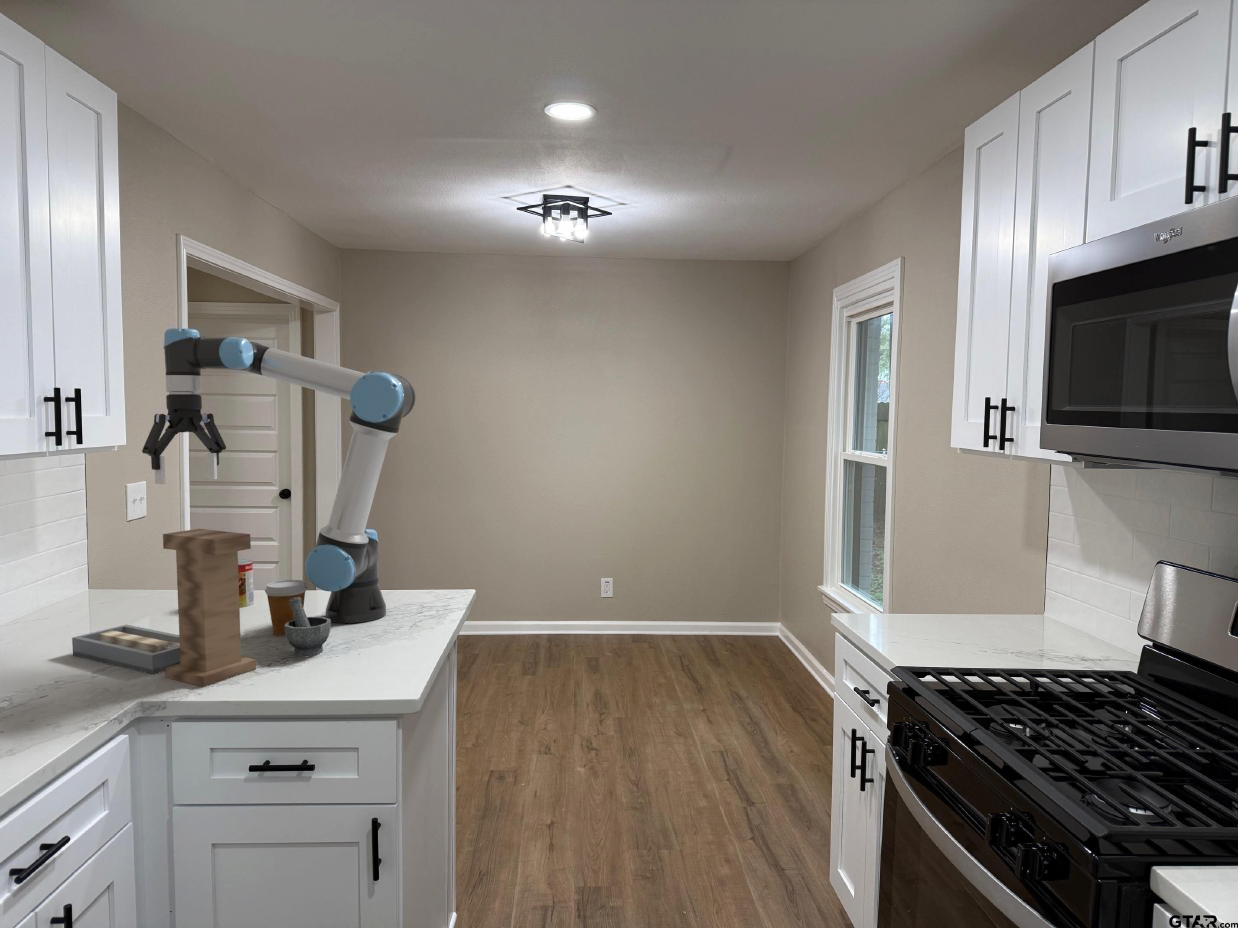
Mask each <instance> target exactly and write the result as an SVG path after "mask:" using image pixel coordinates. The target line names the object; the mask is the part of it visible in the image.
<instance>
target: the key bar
mask: <svg viewBox="0 0 1238 928" xmlns="http://www.w3.org/2000/svg"><path fill="white" fill-rule="evenodd" d="M99 641H102V642H106V643H111V644H115V645H120V646H124V647H129V648H133V649H138V650H142V651H147V652H151V653H156V652H160V651H163V650H167V649H170V648H174V647H177V646H180V644H179V643H178V642H168V641H163V640H158V639H153V638H148V637H143V636H138V635H133V634H128V633H123V632H118V631H113V630H112V631H108V632H104V633H100V634H99Z"/></svg>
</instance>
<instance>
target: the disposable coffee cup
mask: <svg viewBox="0 0 1238 928" xmlns="http://www.w3.org/2000/svg"><path fill="white" fill-rule="evenodd" d="M306 584H307V583H306V582H305V580H302V579H284V580H283V579H282V580H276V581H271V582H269V583H267V584H266V588H265V589H264V592H265V594H266V596H267V602H268V608H269V615H270V621H271V625H272V631H273V634H274V635H276V636H285V624H286V622H288V621H291V620H294V617H293V612H292V608H291V605H290V604H289V602H288V601H289V600H290V599H292V598H295V597H300V598H301V600H302V601H301V603H302V606H303V608H304V607H305V599H306V598H305V597H306V592H307V589H308V585H306ZM304 609H305V608H304Z"/></svg>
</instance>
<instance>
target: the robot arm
mask: <svg viewBox="0 0 1238 928" xmlns="http://www.w3.org/2000/svg"><path fill="white" fill-rule="evenodd" d="M163 337H164V340H163V343H164V344H163V351H164V364H165V365H164V366H165V368H164V369H165V390H166V391H165V392H166V393H168V394H167V395H165V399H166V404H165V406H166V409H167V414H165V413H156V414H154V416H153V417H154V418H153V424H152V427H151V429H150V431H149V434H148V436H147V438H146V441H145V443H144V445H143V447H142V450H141V452H142V454H146V455H148V456H149V457H150V460H151V461H150V464H151V470H152V471H154V484H156V485H166V463H165V461H166V460H165V456H164V455H162V454H163V452H164V451H165V450H166V448H167V447H168V446H169V444H170V443H171V442H172V440H173V439H174V438H175V436H176V435H177V434H179V433H193V434H194V435H195V436H196V437H197V438H198V439H199V441H200V442H201V443H202V444H203V446H204V447H205V448H206V449H207V451H209V452H206V473H207V474H206V475H207V476H206V477H207V480H218V466H219V465H220V454H221V453H223V451H225V450H226V449H227V445H226V444H225V442H224V439H223V437H222V435H221V433H220V431H219V429H218V427H217V425H216V423H215V417H214V414H213V413H211V412H210V413H207V412H206V413H203V414H202V413H201V411H202V408H203V405H202V403H203V402H202V399H203V398H202V395H201V394H200V393H201V392H202V378H201V377H202V375H201V374H202V373H201V372H202V371H201V370H210V369H211V370H232V371H241V372H248V373H252V374H254V375H255V374H256V375H260V376H263V377H267V378H271V379H274V380H278V381H281V382H285V383H288V384H293V385H296V386H299V387H302V388H307V389H309V390H313V391H317V392H321V393H325V394H329V395H332V396H336V397H339V398H342V399H345V400H348V401H349V402H350V406H351V413H350V416H349V419H348V422H349V424H350V425H351V427H352V429H353V431H352V434H351V439H350V443H349V447H348V450H347V453H346V458H345V460H344V464H343V468H342V472H341V476H340V480H339V483H338V487H337V490H336V494H335V499H334V502H333V506H332V509H331V513H330V516H329V520H328V524H326V525H324V526H323V527H321V528H320V530H319V532H318V536H317V540H316V543H315V547H314V548H313V549H311V551H310V552H309V553H308V555H307V556H306V559H305V562H304V571H305V574H306V577H307V578H308V580H309V581H310V583H311V584H312V585H313V586H314V587H316V588H317V589H319V590H321V591H325V592H330V594H329V597H328V600H327V603H326V604H327V605H326V607H325V618H328V619H330V620H331V623H338V624H339V623H340V624H354V623H355V624H356V623H365V622H371V621H374V620H377V619H381V618H383V617H384V616H386V615H387V605H386V602H385V599H384V596H383V593H382V591H381V588H380V579H379V539H378V532H377V531H376V529H370V528H369V529H368V528H367V524H368V520H369V517H370V514H371V513H370V512H371V508H372V505H373V501H374V498H375V494H376V489H377V487H378V483H379V479H380V475H381V472H382V468H383V465H384V460H385V457H386V453H387V450H388V445H389V442H390V439H392V438H393V437H395V436H396V435H398V433H399V430H400V428H401V427H400V426H401V423H402V420H403V418H406V416H408V415H410V413H411V412H412V411H413V409H414V406H415V404H416V400H417V399H416V397H417V396H416V392H415V391H416V390H415V389H414V387H413V384H412V383H411V382H410V380H408V379H407V378H405V377H403V376H402V375H399V374H396V373H395V374H394V373H389V372H382V371H372V370H371V371H368V372H361V371H358V370H353V369H350V368H347V367H343V366H340V365H336V364H332V363H330V362H329V363H328V362H324V361H321V360H317V359H314V358H311V357H306V356H304V355H299V354H296V353H292V352H288V351H285V350H282V349H278V348H274V347H269V346H267V345H263V344H262V343H259V342H255V341H249V340H248V339H247V338H244V337H237V336H236V337H235V336H229V337H228V336H227V337H202V336H201V335H200V332H199V331H198V330H197V329H193V328H181V327H180V328H178V327H177V328H176V327H174V328H168V329H166V330H165V331H164V335H163ZM167 422H168V426H167V427H166V426H165V425H166V424H167ZM201 422H203V425H204V426H203V425H202V424H201ZM165 427H166V428H165ZM163 430H164V432H163ZM206 431H207V432H206Z"/></svg>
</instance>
